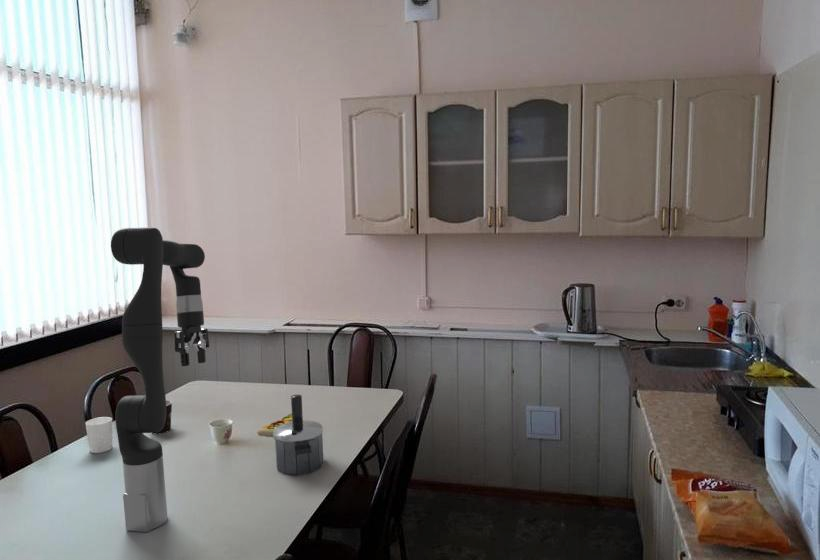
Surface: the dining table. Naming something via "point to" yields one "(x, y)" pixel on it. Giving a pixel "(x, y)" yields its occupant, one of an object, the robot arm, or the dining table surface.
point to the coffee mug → (167, 417)
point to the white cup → (99, 434)
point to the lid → (297, 426)
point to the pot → (299, 457)
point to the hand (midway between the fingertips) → (194, 364)
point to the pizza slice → (274, 426)
